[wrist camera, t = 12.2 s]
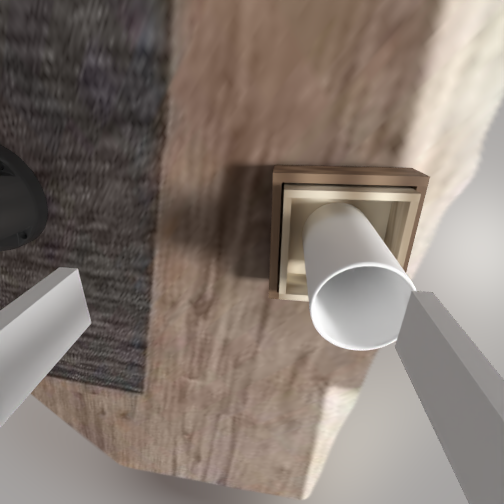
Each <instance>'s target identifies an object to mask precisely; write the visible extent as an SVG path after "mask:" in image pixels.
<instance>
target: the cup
mask: <svg viewBox="0 0 504 504" xmlns="http://www.w3.org/2000/svg"><path fill="white" fill-rule="evenodd" d="M302 240H303V250H304V260H305V270H306V279H307V289H308V299H309V308H310V315H311V319H312V322H313V324H314V326H315V328H316V330H317V331H318V332H319V334H320V335H321V336H322V337H323V338H325V339H326V340H327V341H329V342H330V343H332V344H334V345H336V346H339V347H342V348H345V349H350V350H372V349H377V348H381V347H383V346H386V345H389V344H391V343H393V342H394V341H396V340H397V338H398V335H399V331H400V328H401V325H402V321H403V318H404V315H405V311H406V308H407V304H408V301H409V298H410V294H411V291H416V289H415V286H414V284H413V283H412V281H411V280H410V278H409V277H408V275H407V274H406V273H405V271H404V270H403V268H402V267H401V266H400V264H399V263H398V261H397V260H396V258H395V257H394V256H393V254H392V253H391V251H390V250H389V249H388V247H387V246H386V244H385V243H384V242H383V240H382V239H381V237H380V236H379V235H378V233H377V232H376V230H375V229H374V228H373V226H372V225H371V223H370V222H369V220H368V219H367V218H366V216H365V215H364V214H363V213H362V212H361V211H360V210H359V209H358V208H356V207H355V206H353V205H350V204H347V203H340V202H336V203H329V204H326V205H323V206H321V207H319V208H318V209H316V210H315V211H314V212H313V213H312V214H311V215H310V216H309V217H308V218H307V220H306V222H305V224H304V227H303V231H302Z"/></svg>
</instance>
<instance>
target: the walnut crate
mask: <svg viewBox="0 0 504 504" xmlns="http://www.w3.org/2000/svg"><path fill="white" fill-rule="evenodd" d="M429 178H430V177H429V176H427V175H425V174H423V173H421V172H419V171H417V170H415V169H413V168H385V167H342V166H298V165H275V166H274V170H273V184H272V215H271V245H270V275H269V298H271V299H279V285H280V264H281V244H282V224H283V204H284V185H285V183H320V184H355V185H391V186H410V187H411V188H413V189H414V190H416V191H417V192H419V193H421V196H420V201H419V205H418V209H417V213H416V217H415V221H414V225H413V229H412V233H411V237H410V242H409V246H408V250H407V254H406V258H405V262H404V266H403V270H404V271H405V273H406V270H407V266H408V262H409V258H410V254H411V250H412V246H413V242H414V238H415V234H416V230H417V226H418V222H419V218H420V214H421V210H422V206H423V202H424V198H425V194H426V190H427V186H428V182H429Z"/></svg>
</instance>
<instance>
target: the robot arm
mask: <svg viewBox="0 0 504 504" xmlns="http://www.w3.org/2000/svg"><path fill="white" fill-rule="evenodd" d="M47 215H48V209H47V202H46V198H45V195H44V192H43V189H42V187H41V185H40V183H39V181H38V179H37V178H36V176H35V175H34V173H33V172H32V171H31V169H30V168H29V167H28V166H27V165H26V164H25V163H24V162H23V161H22V160H21V159H20V158H19V157H18V156H17V155H15V154H14V153H13V152H11V151H10V150H8V149H7V148H5V147H3V146H1V145H0V251H5V250H11V249H15V248H18V247H21V246H23V245H25V244H27V243H29V242H31V241H33V240H34V239H36V238H37V237H38V236H39V235H40V234H41V233H42V231H43V230H44V228H45V225H46V222H47ZM90 324H91V320H90V316H89V312H88V308H87V304H86V300H85V296H84V292H83V288H82V284H81V280H80V276H79V272H78V269H76V268H61V267H59V268H58V269H57V270H55V271H54V272H53V273H51V274H50V275H49V276H47V277H46V278H44V279H43V280H42V281H40V282H39V283H38V284H36V285H35V286H34V287H32V288H31V289H29V290H28V291H27V292H25V293H24V294H23V295H21V296H20V297H18V298H17V299H16V300H14V301H13V302H12V303H10V304H9V305H8V306H6V307H5V308H3V309H2V310H1V311H0V427H1V426H2V425H3V424H4V423H5V422H6V421H7V419H8V418H9V417H10V416H11V415H12V414H13V412H14V411H15V410H16V409H17V408H18V407H19V406H20V405H21V403H22V402H23V401H24V400H25V399H26V397H27V396H28V395H29V394H30V393H31V392H32V391H33V390H34V388H35V387H36V386H37V385H38V384H39V383H40V382H41V380H42V379H43V378H44V377H45V376H46V375H47V374H48V372H49V371H50V370H51V369H52V368H53V367H54V365H55V364H56V363H57V362H58V361H59V360H60V359H61V357H62V356H63V355H64V354H65V353H66V352H67V351H68V349H69V348H70V347H71V346H72V345H73V344H74V343H75V341H76V340H77V339H78V338H79V337H80V336H81V334H82V333H83V332H84V331H85V330H86V329H87V328H88V326H89V325H90ZM395 348H396V350H397V352H398V355H399V357H400V359H401V361H402V363H403V365H404V367H405V369H406V372H407V374H408V376H409V378H410V380H411V382H412V384H413V386H414V388H415V391H416V393H417V395H418V397H419V399H420V401H421V403H422V405H423V407H424V409H425V412H426V414H427V416H428V418H429V420H430V422H431V424H432V426H433V429H434V430H435V433H436V435H437V437H438V439H439V441H440V443H441V445H442V448H443V450H444V452H445V454H446V456H447V458H448V460H449V462H450V464H451V467H452V469H453V470H454V473H455V475H456V477H457V479H458V481H459V483H460V486H461V488H462V490H463V492H464V494H465V496H466V498H467V500H468V502H469V504H504V380H503V378H502V377H501V376H500V374H499V373H498V372H497V371H496V370H495V368H494V367H493V366H492V365H491V363H490V362H489V361H488V360H487V359H486V357H485V356H484V355H483V354H482V352H481V351H480V350H479V349H478V347H477V346H476V345H475V344H474V342H473V341H472V340H471V339H470V338H469V336H468V335H467V334H466V333H465V331H464V330H463V329H462V328H461V327H460V325H459V324H458V323H457V322H456V320H455V319H454V318H453V317H452V316H451V314H450V313H449V312H448V311H447V310H446V308H445V307H444V306H443V304H442V303H441V302H440V301H439V299H438V298H437V297H436V296H435V295H434V293H433V292H421V291H411V294H410V298H409V301H408V304H407V308H406V311H405V315H404V318H403V321H402V325H401V328H400V331H399V335H398V338H397V341H396V345H395Z"/></svg>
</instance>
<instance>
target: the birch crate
mask: <svg viewBox="0 0 504 504" xmlns="http://www.w3.org/2000/svg"><path fill="white" fill-rule="evenodd" d="M420 196H421V193H419V192H417V191H416V190H414V189H413V188H411V187H410V186H391V185H355V184H320V183H285V185H284V204H283V224H282V244H281V264H280V285H279V299H282V300H297V301H309V299H308V289H307V279H306V270H305V260H304V250H303V240H302V231H303V227H304V224H305V222H306V220H307V218H308V217H309V216H310V215H311V214H312V213H313V212H314V211H315V210H316V209H318V208H319V207H321V206H323V205H326V204H329V203H336V202H340V203H347V204H350V205H353V206H355V207H356V208H358V209H359V210H360V211H361V212H362V213H363V214H364V215H365V216H366V218H367V219H368V220H369V222H370V223H371V225H372V226H373V228H374V229H375V230H376V232H377V233H378V235H379V236H380V237H381V239H382V240H383V242H384V243H385V244H386V246H387V247H388V249H389V250H390V251H391V253H392V254H393V256H394V257H395V258H396V260H397V261H398V263H399V264H400V266H401V267H402V268H403V266H404V262H405V258H406V254H407V250H408V246H409V242H410V237H411V233H412V229H413V225H414V221H415V217H416V213H417V209H418V205H419V201H420Z"/></svg>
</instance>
